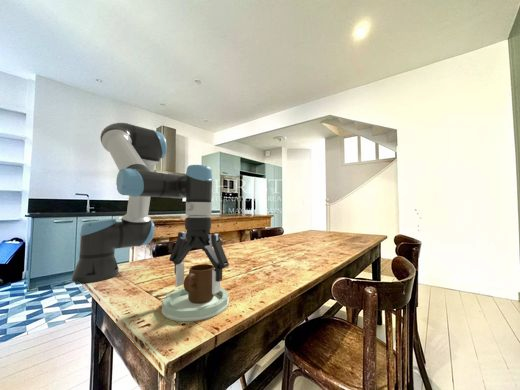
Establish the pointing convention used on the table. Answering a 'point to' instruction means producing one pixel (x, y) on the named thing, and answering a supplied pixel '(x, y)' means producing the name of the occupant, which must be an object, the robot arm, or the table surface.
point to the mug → (199, 283)
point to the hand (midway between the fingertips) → (197, 288)
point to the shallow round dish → (193, 306)
